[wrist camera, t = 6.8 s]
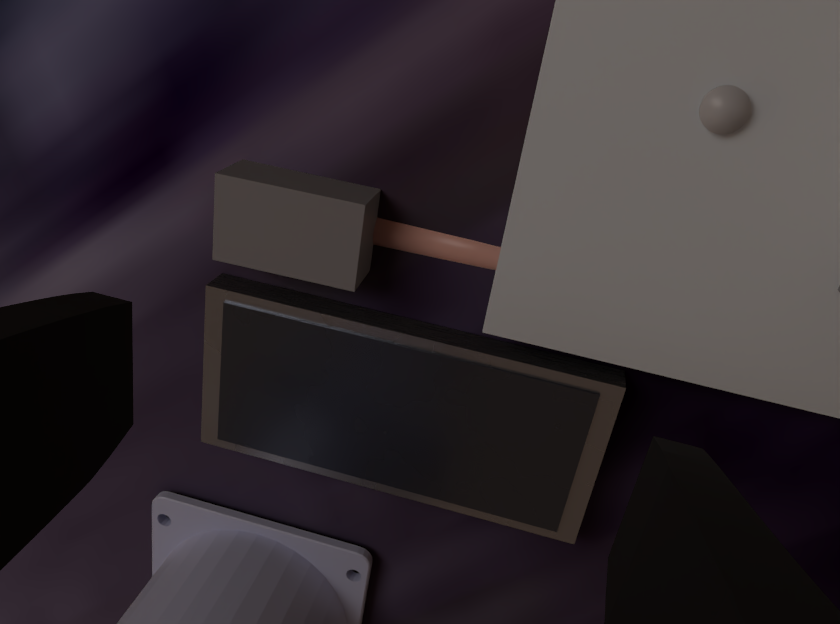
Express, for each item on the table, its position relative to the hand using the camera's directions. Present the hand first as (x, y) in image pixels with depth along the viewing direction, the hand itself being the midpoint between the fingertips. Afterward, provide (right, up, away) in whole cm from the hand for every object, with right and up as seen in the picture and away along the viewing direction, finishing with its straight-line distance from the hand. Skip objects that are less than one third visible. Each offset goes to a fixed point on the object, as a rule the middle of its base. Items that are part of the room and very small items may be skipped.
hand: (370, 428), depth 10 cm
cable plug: (+1, +4, +11) cm, 11 cm away
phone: (0, -1, +12) cm, 12 cm away
